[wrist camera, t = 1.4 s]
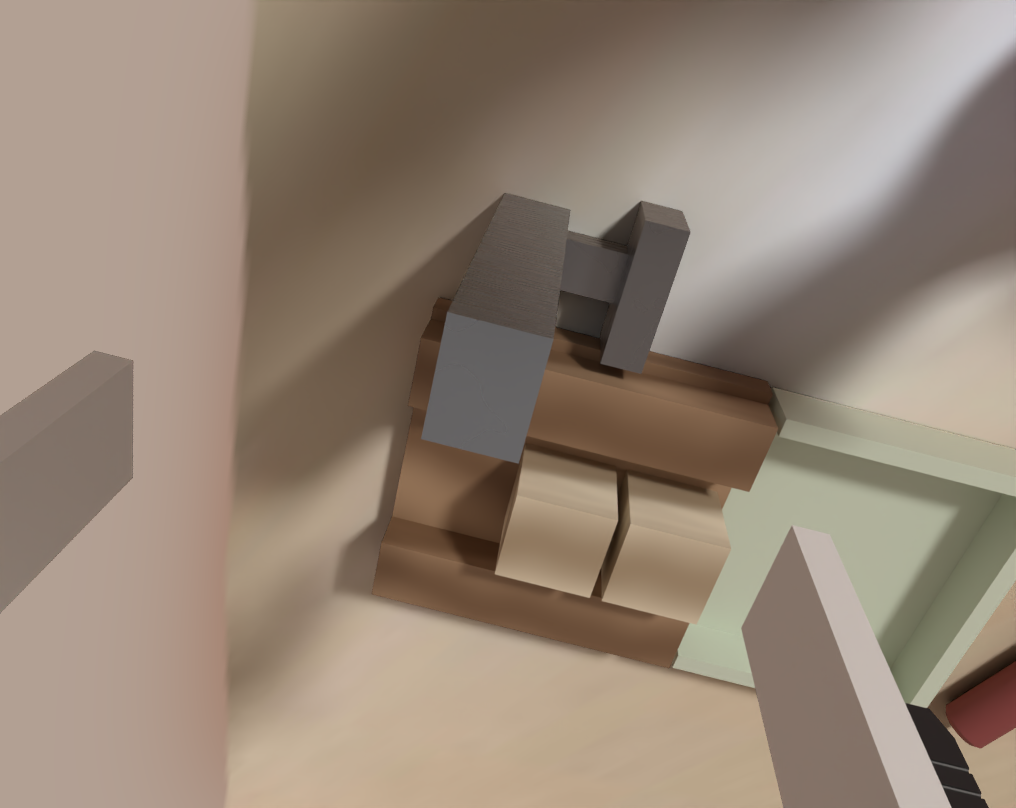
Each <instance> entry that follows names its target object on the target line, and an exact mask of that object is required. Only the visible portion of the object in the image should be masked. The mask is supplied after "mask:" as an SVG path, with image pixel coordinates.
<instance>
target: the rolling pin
mask: <svg viewBox="0 0 1016 808" xmlns="http://www.w3.org/2000/svg"><path fill="white" fill-rule="evenodd" d="M946 716H947V719H948V721H949V722H950V724H951V726H952V727H953V729H954V730H955V731H956V732H957V734H958V735H959V736H960V737H961V738H962V739H963V740H964V741H965V742H967V743H968V744H969V745H971V746H974V747H978V748H982V747H984V746H986V745H987V744H989V743H991V742H992V741H994V740H996V739H998V738H999V737H1001V736H1003V735H1004V734H1006V733H1008V732H1009V731H1011V730H1013V729H1014V728H1016V661H1015V662H1013V663H1012V664H1010V665H1009V666H1007V667H1006V668H1004V669H1002V670H1001V671H999V672H998V673H996V674H995V675H993V676H991V677H990V678H988V679H987V680H985V681H984V682H982V683H980V684H979V685H977V686H976V687H974V688H973V689H971V690H969V691H968V692H966V693H965V694H963V695H961V696H960V697H958V698H957V699H955V700H954V701H952V702H950V703H949V704H947V705H946Z"/></svg>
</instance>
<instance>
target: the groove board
mask: <svg viewBox="0 0 1016 808" xmlns="http://www.w3.org/2000/svg"><path fill="white" fill-rule="evenodd" d="M451 303H452V301H451V300H447V299H443V298H438V300H437V301H436V303H435V305H434V307H433V311H432V316H431V320H430V322H429V324H428V326H427V327H426V329H425V331H424V333H423V335H422V337H421V341H420V346H419V351H418V356H417V361H416V367H415V372H414V377H413V382H412V387H411V392H410V398H409V403H408V406H411V407H413V413H412V418H411V423H410V428H409V433H408V438H407V443H406V448H405V453H404V458H403V463H402V468H401V473H400V478H399V484H398V489H397V494H396V499H395V504H394V509H393V514H392V518H391V520H390V523H389V525H388V528H387V530H386V533H385V535H384V538H383V540H382V543H381V548H380V553H379V558H378V563H377V568H376V574H375V579H374V584H373V589H372V594H373V595H377V596H381V597H385V598H389V599H393V600H397V601H401V602H405V603H410V604H414V605H418V606H422V607H426V608H430V609H434V610H438V611H442V612H446V613H450V614H454V615H458V616H462V617H466V618H470V619H474V620H478V621H482V622H486V623H490V624H494V625H498V626H502V627H506V628H510V629H514V630H518V631H522V632H526V633H530V634H534V635H538V636H542V637H546V638H550V639H554V640H558V641H562V642H566V643H570V644H574V645H578V646H582V647H586V648H590V649H594V650H598V651H602V652H606V653H610V654H614V655H618V656H622V657H627V658H631V659H635V660H639V661H643V662H647V663H651V664H655V665H659V666H663V667H667V668H669V667H670V665H671V663H672V661H673V659H674V656H675V654H676V652H677V650H678V648H679V646H680V643H681V641H682V639H683V637H684V635H685V632H686V630H687V628H688V626H689V624H690V623H688V622H684V621H680V620H676V619H672V618H668V617H664V616H660V615H656V614H652V613H648V612H644V611H640V610H636V609H632V608H628V607H624V606H620V605H616V604H612V603H608V602H604V601H602V576H601V569H600V572H599V574H598V577H597V580H596V582H595V585H594V588H593V591H592V593H591V596H590V598H588V597H584V596H580V595H576V594H572V593H568V592H564V591H560V590H556V589H552V588H548V587H544V586H540V585H536V584H532V583H528V582H524V581H520V580H516V579H512V578H508V577H504V576H500V575H496V574H495V569H496V563H497V558H498V552H499V547H500V541H501V536H502V530H503V524H504V519H505V515H506V511H507V508H508V504H509V500H510V497H511V493H512V490H513V486H514V483H515V479H516V476H517V472H518V469H519V465H520V461H521V458H522V454H523V451H524V447H525V444H526V443H527V444H531V445H535V446H539V447H543V448H547V449H551V450H555V451H558V452H562V453H566V454H570V455H574V456H578V457H582V458H586V459H590V460H594V461H598V462H602V463H606V464H610V465H614V466H616V477H617V496H618V493H619V491H620V488H621V485H622V482H623V480H624V477H625V474H626V471H627V469H630V470H634V471H638V472H642V473H646V474H650V475H653V476H657V477H661V478H665V479H669V480H673V481H677V482H681V483H685V484H689V485H693V486H697V487H701V488H705V489H709V490H713V491H717V492H718V496H719V500H720V504H721V508H723V506H724V504H725V502H726V499H727V497H728V495H729V493H730V490H731V488H735V489H739V490H743V491H747V492H750V490H751V488H752V485H753V483H754V481H755V479H756V477H757V474H758V472H759V470H760V468H761V466H762V463H763V461H764V459H765V457H766V455H767V452H768V450H769V448H770V446H771V444H772V441H773V439H774V437H775V435H776V433H777V430H778V427H777V424H776V422H775V420H774V417H773V415H772V413H771V410H770V408H769V405H768V404H769V402H770V400H771V397H772V395H773V393H772V391H771V389H770V386H769V384H768V382H767V381H764V380H760V379H757V378H753V377H749V376H745V375H741V374H737V373H733V372H729V371H725V370H721V369H717V368H713V367H709V366H706V365H702V364H698V363H694V362H690V361H686V360H682V359H678V358H674V357H670V356H666V355H662V354H659V353H655V352H651V351H649V353H648V356H647V359H646V362H645V365H644V368H643V371H642V374H639V373H635V372H631V371H627V370H623V369H620V368H616V367H612V366H608V365H604V364H600V338H596V337H592V336H588V335H584V334H580V333H576V332H572V331H568V330H564V329H561V328H557V327H555V332H554V339H553V343H552V347H551V350H550V354H549V357H548V361H547V364H546V368H545V372H544V375H543V379H542V382H541V386H540V389H539V393H538V396H537V400H536V404H535V407H534V411H533V414H532V418H531V421H530V425H529V429H528V432H527V436H526V439H525V443H524V446H523V450H522V453H521V457H520V461H519V464H518V463H514V462H510V461H506V460H502V459H498V458H494V457H490V456H486V455H482V454H478V453H474V452H470V451H466V450H462V449H458V448H454V447H450V446H446V445H442V444H439V443H435V442H431V441H427V440H423V439H421V437H422V432H423V427H424V422H425V417H426V413H427V408H428V403H429V398H430V393H431V388H432V384H433V379H434V374H435V369H436V364H437V359H438V355H439V350H440V345H441V340H442V335H443V330H444V326H445V321H446V316H447V312H448V310H449V307H450V305H451Z"/></svg>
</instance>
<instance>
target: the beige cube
mask: <svg viewBox="0 0 1016 808" xmlns="http://www.w3.org/2000/svg"><path fill="white" fill-rule="evenodd" d="M617 523H618V503H617V477H616V466H614V465H610V464H606V463H602V462H598V461H594V460H590V459H586V458H582V457H578V456H574V455H570V454H566V453H562V452H558V451H555V450H551V449H547V448H543V447H539V446H535V445H531V444H527V443H526V444H525V447H524V451H523V454H522V458H521V461H520V465H519V469H518V472H517V476H516V479H515V483H514V486H513V490H512V493H511V497H510V500H509V504H508V508H507V511H506V515H505V519H504V524H503V530H502V536H501V541H500V547H499V552H498V558H497V563H496V569H495V574H496V575H500V576H504V577H508V578H512V579H516V580H520V581H524V582H528V583H532V584H536V585H540V586H544V587H548V588H552V589H556V590H560V591H564V592H568V593H572V594H576V595H580V596H584V597H588V598H590V596H591V593H592V591H593V588H594V585H595V582H596V580H597V577H598V574H599V572H600V569H601V566H602V563H603V561H604V558H605V555H606V552H607V550H608V547H609V544H610V542H611V539H612V536H613V533H614V531H615V528H616V525H617Z"/></svg>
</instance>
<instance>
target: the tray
mask: <svg viewBox="0 0 1016 808" xmlns="http://www.w3.org/2000/svg"><path fill="white" fill-rule="evenodd" d="M771 391H772V393H773V395H772V397H771V400H770V402H769V404H768V405H769V408H770V410H771V413H772V415H773V417H774V420H775V422H776V424H777V427H778V430H777V433H776V435H775V437H774V439H773V441H772V444H771V446H770V448H769V450H768V452H767V455H766V457H765V459H764V461H763V463H762V466H761V468H760V470H759V472H758V474H757V477H756V479H755V481H754V483H753V485H752V488H751V490H750V492H747V491H743V490H739V489H735V488H731V490H730V493H729V495H728V497H727V499H726V502H725V504H724V506H723V508H722V513H723V517H724V521H725V525H726V529H727V533H728V537H729V541H730V545H731V551H730V553H729V555H728V558H727V560H726V562H725V564H724V566H723V568H722V571H721V573H720V575H719V577H718V579H717V581H716V584H715V586H714V588H713V590H712V592H711V594H710V597H709V599H708V601H707V603H706V605H705V607H704V610H703V612H702V614H701V616H700V618H699V620H698V623H697V625H696V624H692V623H690V624H689V626H688V628H687V630H686V632H685V635H684V637H683V639H682V641H681V643H680V646H679V648H678V650H677V652H676V654H675V656H674V659H673V661H672V666H673V668H676V669H680V670H684V671H688V672H692V673H696V674H700V675H704V676H708V677H712V678H716V679H720V680H724V681H728V682H732V683H736V684H740V685H744V686H748V687H752V688H755V685H754V681H753V676H752V672H751V668H750V664H749V660H748V655H747V651H746V647H745V643H744V638H743V634H742V630H741V627H742V625H743V623H744V621H745V619H746V617H747V615H748V613H749V611H750V609H751V607H752V605H753V603H754V601H755V599H756V597H757V595H758V593H759V591H760V589H761V587H762V585H763V583H764V581H765V579H766V576H767V574H768V572H769V570H770V568H771V566H772V564H773V562H774V560H775V558H776V556H777V554H778V552H779V550H780V548H781V546H782V544H783V542H784V540H785V538H786V536H787V534H788V532H789V530H790V528H791V526H792V525H794V526H798V527H802V528H806V529H810V530H814V531H818V532H822V533H826V534H830V536H831V538H832V540H833V543H834V545H835V547H836V549H837V552H838V554H839V556H840V558H841V561H842V563H843V565H844V567H845V570H846V572H847V574H848V576H849V579H850V581H851V583H852V585H853V588H854V590H855V592H856V594H857V597H858V599H859V601H860V603H861V606H862V608H863V610H864V612H865V615H866V617H867V619H868V621H869V624H870V626H871V628H872V630H873V632H874V635H875V637H876V639H877V641H878V644H879V646H880V648H881V650H882V653H883V655H884V657H885V659H886V662H887V664H888V666H889V668H890V671H891V673H892V675H893V677H894V680H895V682H896V684H897V686H898V689H899V691H900V693H901V695H902V698H903V700H904V702H905V703H908V704H912V705H916V706H920V707H924V708H927V707H928V706H929V704H930V703H931V702H932V700H933V699H934V697H935V696H936V694H937V693H938V691H939V690H940V689H941V687H942V686H943V684H944V683H945V681H946V680H947V679H948V677H949V676H950V674H951V673H952V671H953V670H954V668H955V667H956V666H957V664H958V663H959V661H960V660H961V658H962V657H963V656H964V654H965V653H966V651H967V650H968V648H969V647H970V646H971V644H972V643H973V641H974V640H975V638H976V637H977V635H978V634H979V633H980V631H981V630H982V628H983V627H984V625H985V624H986V623H987V621H988V620H989V618H990V617H991V615H992V614H993V612H994V611H995V610H996V608H997V607H998V605H999V604H1000V602H1001V601H1002V600H1003V598H1004V597H1005V595H1006V594H1007V592H1008V591H1009V589H1010V588H1011V587H1012V585H1013V584H1014V582H1015V581H1016V449H1013V448H1009V447H1005V446H1001V445H997V444H993V443H989V442H985V441H981V440H977V439H974V438H970V437H966V436H962V435H958V434H954V433H950V432H946V431H942V430H938V429H934V428H930V427H926V426H923V425H919V424H915V423H911V422H907V421H903V420H899V419H895V418H891V417H887V416H883V415H879V414H875V413H872V412H868V411H864V410H860V409H856V408H852V407H848V406H844V405H840V404H836V403H832V402H828V401H825V400H821V399H817V398H813V397H809V396H805V395H801V394H797V393H793V392H789V391H785V390H781V389H777V388H774V387H772V389H771Z"/></svg>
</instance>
